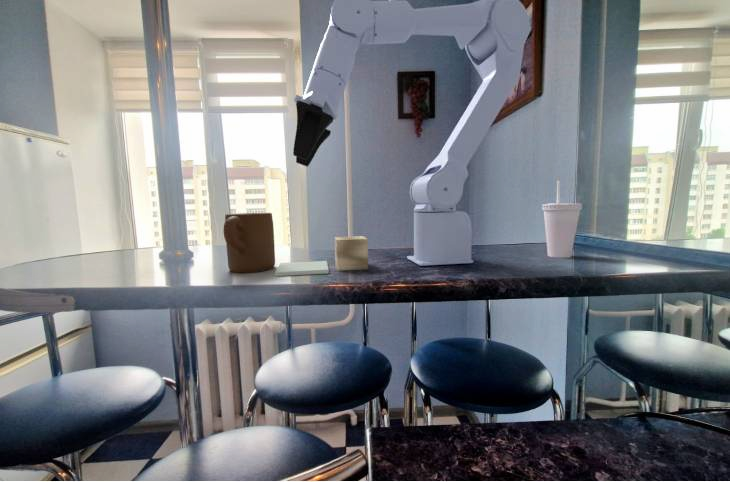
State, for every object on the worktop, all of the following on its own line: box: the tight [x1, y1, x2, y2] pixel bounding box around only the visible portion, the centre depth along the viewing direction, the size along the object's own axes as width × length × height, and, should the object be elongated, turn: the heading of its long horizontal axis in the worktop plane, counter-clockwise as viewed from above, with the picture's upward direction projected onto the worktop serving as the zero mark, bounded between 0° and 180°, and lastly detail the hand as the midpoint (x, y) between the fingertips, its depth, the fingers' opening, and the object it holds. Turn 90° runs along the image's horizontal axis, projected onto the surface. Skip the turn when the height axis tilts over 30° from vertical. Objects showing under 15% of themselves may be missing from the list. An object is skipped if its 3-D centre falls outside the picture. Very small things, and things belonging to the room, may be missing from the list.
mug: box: [223, 212, 276, 274], centre depth 52 cm, size 12×8×9 cm, turn 178°
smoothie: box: [541, 180, 583, 259], centre depth 59 cm, size 6×6×14 cm
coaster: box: [274, 260, 330, 277], centre depth 53 cm, size 8×8×1 cm
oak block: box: [334, 235, 369, 271], centre depth 54 cm, size 5×5×5 cm
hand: (300, 161), depth 52 cm, fingers open, 7 cm apart
